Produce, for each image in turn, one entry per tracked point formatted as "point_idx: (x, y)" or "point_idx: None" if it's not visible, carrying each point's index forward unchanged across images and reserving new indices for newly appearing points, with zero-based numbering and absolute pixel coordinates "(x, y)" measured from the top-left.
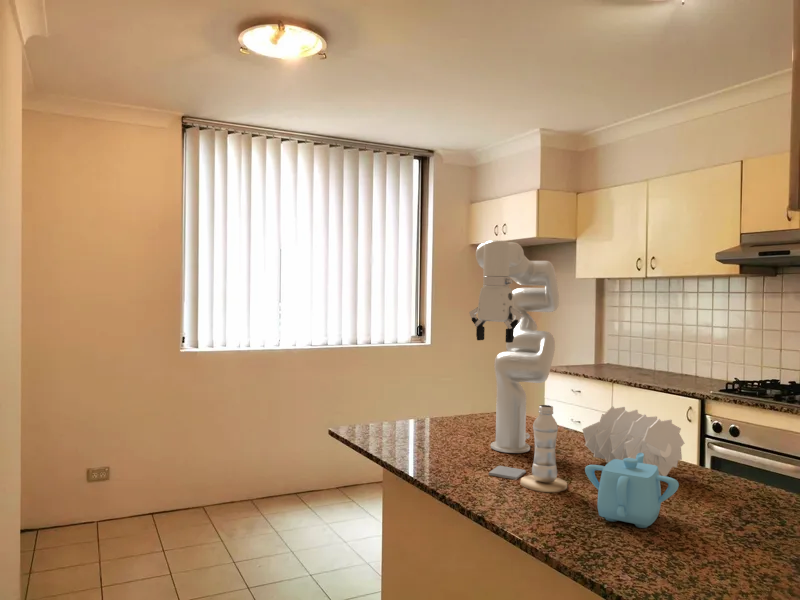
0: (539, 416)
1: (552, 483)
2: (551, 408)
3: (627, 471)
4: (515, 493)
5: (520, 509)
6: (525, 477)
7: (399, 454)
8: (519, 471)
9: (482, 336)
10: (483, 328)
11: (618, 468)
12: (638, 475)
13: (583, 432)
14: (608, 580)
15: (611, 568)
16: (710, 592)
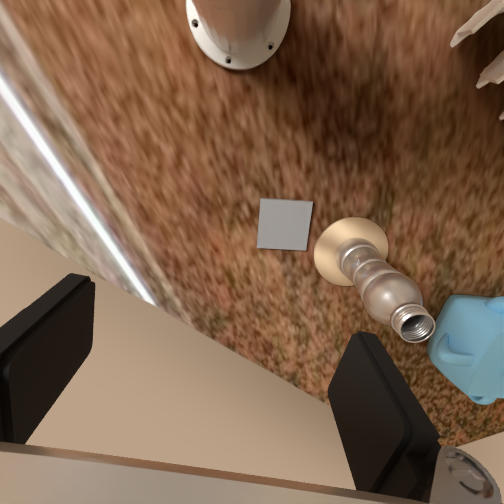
0: (389, 322)
1: None
2: (429, 333)
3: (502, 385)
4: (315, 305)
5: (331, 352)
6: (320, 246)
7: (58, 206)
8: (304, 216)
9: (77, 322)
10: (21, 370)
11: (492, 378)
12: None
13: (467, 32)
14: None
15: None
16: (493, 434)
